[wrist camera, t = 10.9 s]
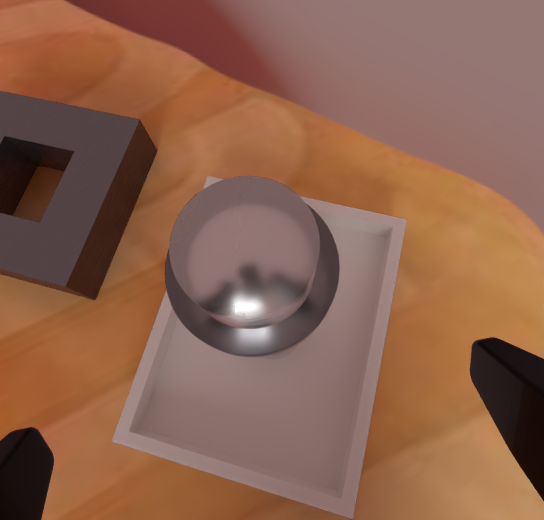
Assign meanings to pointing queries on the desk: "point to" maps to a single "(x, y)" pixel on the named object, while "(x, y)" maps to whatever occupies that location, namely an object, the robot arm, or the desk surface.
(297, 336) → the steel pin
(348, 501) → the tray
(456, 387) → the desk surface
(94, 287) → the hitch block
